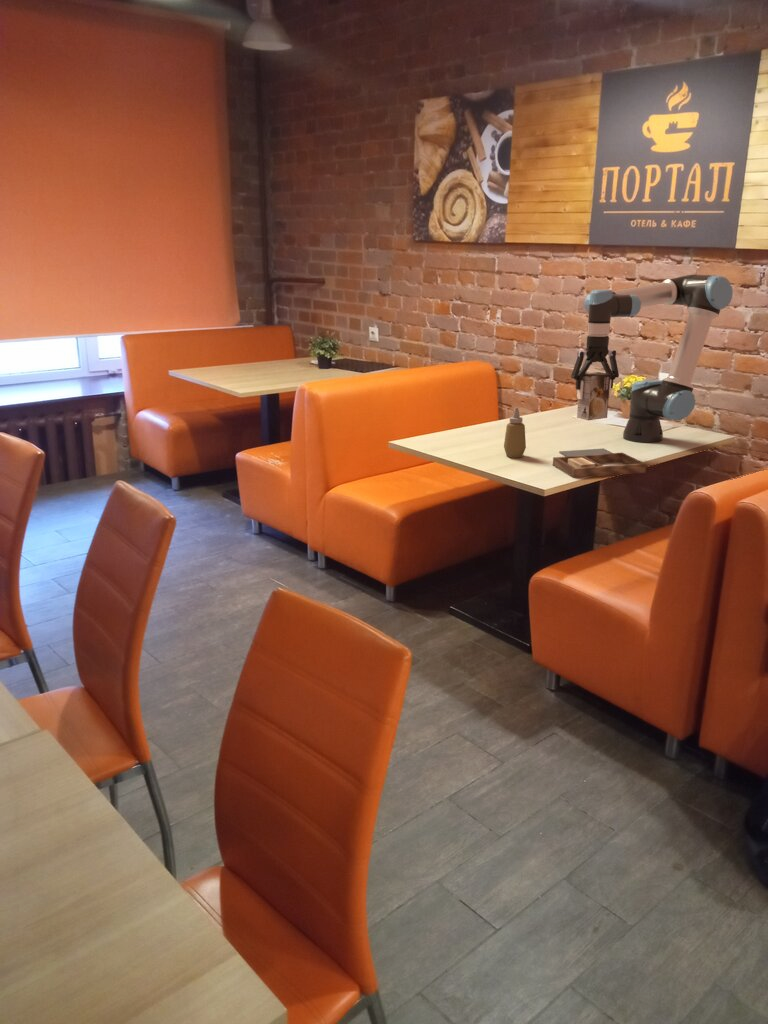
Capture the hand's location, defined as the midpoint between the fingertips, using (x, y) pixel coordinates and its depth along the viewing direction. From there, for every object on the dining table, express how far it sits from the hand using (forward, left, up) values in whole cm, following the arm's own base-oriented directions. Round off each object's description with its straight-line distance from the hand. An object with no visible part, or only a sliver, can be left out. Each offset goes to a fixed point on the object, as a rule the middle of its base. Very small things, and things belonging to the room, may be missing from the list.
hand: (593, 398), depth 295 cm
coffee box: (0, 0, -7) cm, 7 cm away
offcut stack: (+12, +18, -22) cm, 31 cm away
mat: (0, 0, -21) cm, 21 cm away
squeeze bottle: (+27, -6, -22) cm, 35 cm away
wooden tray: (+5, +18, -21) cm, 28 cm away
